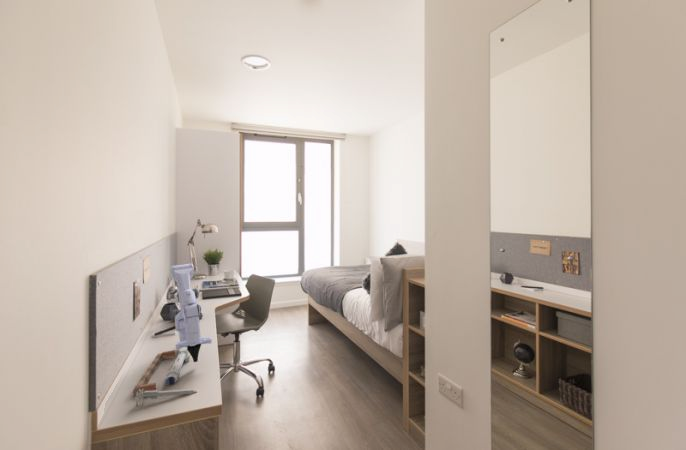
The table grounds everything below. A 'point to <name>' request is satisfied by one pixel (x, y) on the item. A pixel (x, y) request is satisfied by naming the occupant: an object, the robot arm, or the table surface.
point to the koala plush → (176, 295)
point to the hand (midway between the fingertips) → (195, 361)
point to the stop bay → (149, 372)
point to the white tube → (177, 366)
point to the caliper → (160, 394)
